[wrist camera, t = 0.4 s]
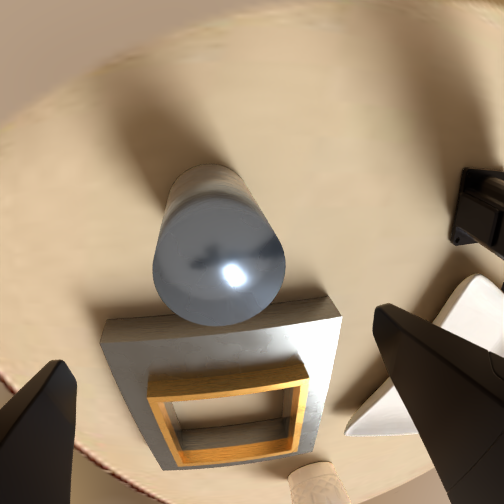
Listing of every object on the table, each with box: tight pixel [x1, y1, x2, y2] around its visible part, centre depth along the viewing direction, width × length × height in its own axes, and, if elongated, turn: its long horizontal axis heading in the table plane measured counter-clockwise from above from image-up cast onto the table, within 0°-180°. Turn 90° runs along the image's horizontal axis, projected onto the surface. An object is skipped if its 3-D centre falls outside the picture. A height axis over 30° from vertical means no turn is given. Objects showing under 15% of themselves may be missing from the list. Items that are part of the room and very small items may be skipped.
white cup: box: [288, 462, 352, 504], centre depth 33 cm, size 8×8×10 cm
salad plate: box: [344, 274, 504, 436], centre depth 30 cm, size 21×21×3 cm
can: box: [153, 164, 286, 326], centre depth 15 cm, size 5×5×8 cm
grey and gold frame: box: [100, 296, 342, 470], centre depth 24 cm, size 16×19×4 cm
